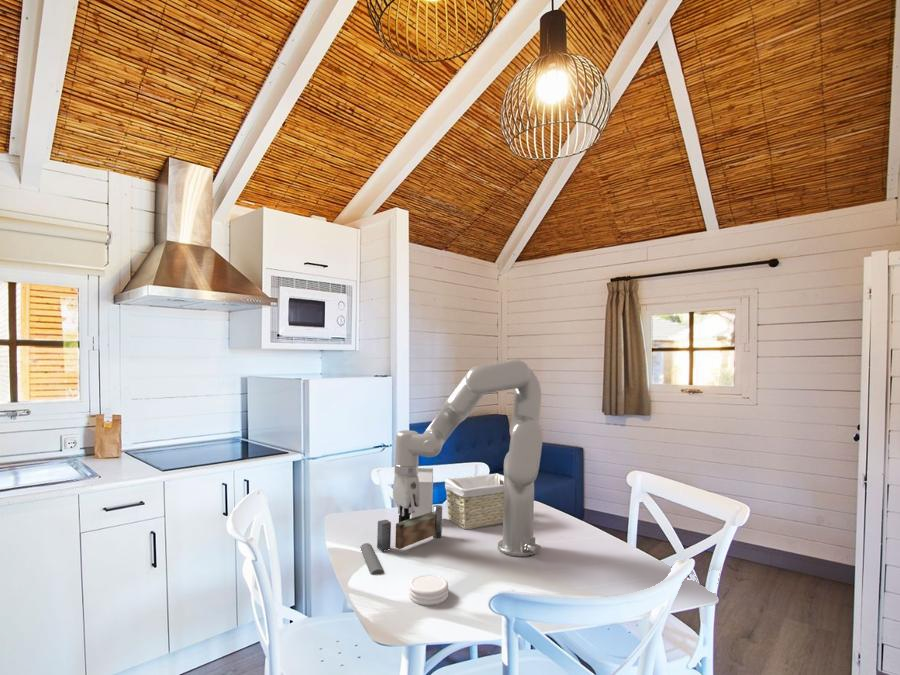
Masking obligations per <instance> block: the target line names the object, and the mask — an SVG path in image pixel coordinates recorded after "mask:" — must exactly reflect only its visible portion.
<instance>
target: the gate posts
mask: <svg viewBox="0 0 900 675" xmlns="http://www.w3.org/2000/svg"><path fill="white" fill-rule="evenodd" d="M432 512H434V513H436V517H435V535H434V536H432V538H433V539H441V538H442V537H443V536H442V533H443V531H442V530H443V506H442V505H440V504H436V505H432ZM391 528H392V522H391V521H389V519H381V520H377V534H376V535H377V536H376V539H377V541H376V542H377V544H376V545H377V546H376V548H378V549H379V550H378V549H377V550H378V551H380V550H381V551H383V552H385V551H384V550H388V549H390V550H391V540H392V539H391V537H392V536H391V535H392V534H391V531H392V529H391ZM381 551H380V552H381ZM388 551H389V550H388Z"/></svg>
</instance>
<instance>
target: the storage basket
mask: <svg viewBox="0 0 900 675" xmlns="http://www.w3.org/2000/svg"><path fill="white" fill-rule="evenodd" d="M444 488H445V492H446V502H447V504H446V505H447V506H446V507H447V515H448V519H449V520H451V521H452V522H453V523H455V524H456V525H457V526H459V527H460V528H461V529H464V530H473V529H476V528H477V529H479V528H485V527H491V526H495V525H501V524H502V525H503V506H504V474H500V473H487V474H479V475H472V476H461V477H460V476H458V477H448V478H446V479H444Z"/></svg>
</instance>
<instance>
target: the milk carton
mask: <svg viewBox="0 0 900 675" xmlns="http://www.w3.org/2000/svg"><path fill="white" fill-rule="evenodd" d="M417 476H418V479H419V492H420V502H419V506H418V507H415V506H414V508H415V512H414V513H411V515H410V519H411V518H414V517H417V516H420V515H423V514H426V513H429V512H433V497H434V496H433V495H434V494H433V492H434V468H433V467H432V468H431V467H430V468H429V467H418V475H417Z"/></svg>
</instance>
